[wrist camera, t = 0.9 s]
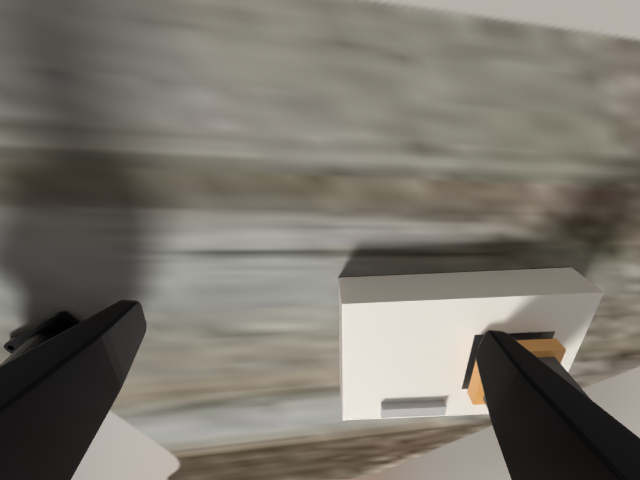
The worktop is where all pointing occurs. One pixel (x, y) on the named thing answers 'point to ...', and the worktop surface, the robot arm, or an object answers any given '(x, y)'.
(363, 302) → the socket block
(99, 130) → the worktop surface
